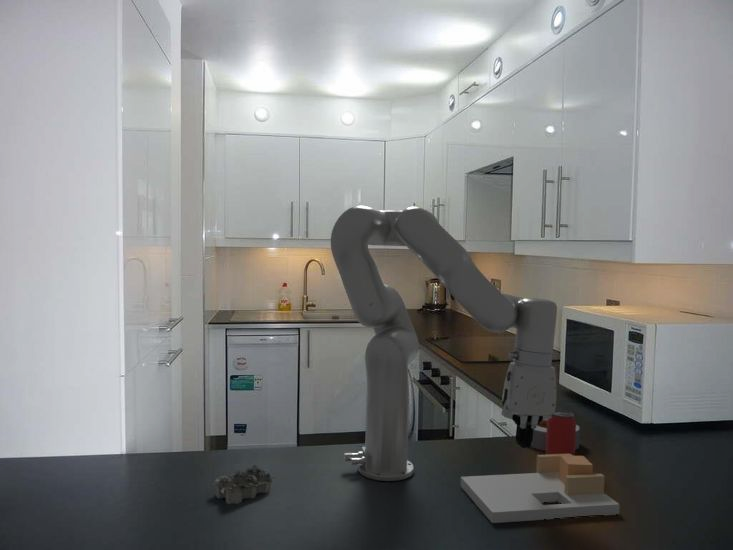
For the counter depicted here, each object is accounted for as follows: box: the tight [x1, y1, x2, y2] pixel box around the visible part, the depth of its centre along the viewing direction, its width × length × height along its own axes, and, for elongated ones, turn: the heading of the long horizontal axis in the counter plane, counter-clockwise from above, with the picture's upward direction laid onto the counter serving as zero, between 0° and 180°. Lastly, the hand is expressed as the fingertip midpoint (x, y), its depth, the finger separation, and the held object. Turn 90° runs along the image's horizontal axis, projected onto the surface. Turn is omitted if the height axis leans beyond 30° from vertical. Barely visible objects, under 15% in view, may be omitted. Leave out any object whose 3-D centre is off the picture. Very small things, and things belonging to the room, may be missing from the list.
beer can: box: [545, 409, 577, 456], centre depth 129 cm, size 7×7×12 cm
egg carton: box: [213, 464, 276, 505], centre depth 108 cm, size 11×8×4 cm
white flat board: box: [460, 454, 620, 524], centre depth 109 cm, size 26×17×6 cm, turn 101°
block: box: [559, 455, 594, 485], centre depth 112 cm, size 5×5×5 cm
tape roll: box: [530, 419, 581, 452], centre depth 144 cm, size 15×15×5 cm
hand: (523, 445), depth 111 cm, fingers closed
